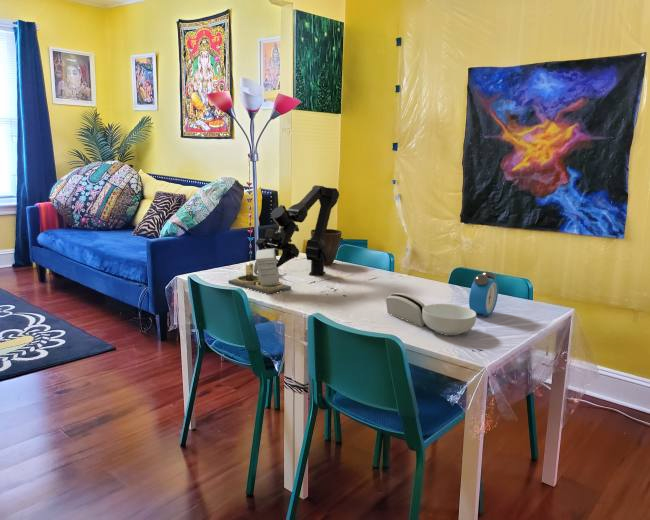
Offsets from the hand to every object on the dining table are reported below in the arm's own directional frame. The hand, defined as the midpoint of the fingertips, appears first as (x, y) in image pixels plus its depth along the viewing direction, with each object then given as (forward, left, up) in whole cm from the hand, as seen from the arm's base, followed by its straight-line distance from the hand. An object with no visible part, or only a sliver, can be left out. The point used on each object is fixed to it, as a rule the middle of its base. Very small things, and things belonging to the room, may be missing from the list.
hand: (267, 264), depth 218 cm
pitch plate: (-4, -5, -10) cm, 12 cm away
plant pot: (-53, +14, -10) cm, 56 cm away
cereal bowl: (+33, +68, -10) cm, 77 cm away
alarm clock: (+11, +81, -10) cm, 83 cm away
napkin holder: (+24, +55, -10) cm, 61 cm away
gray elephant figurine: (-26, -7, -10) cm, 29 cm away
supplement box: (-2, +1, -7) cm, 7 cm away
